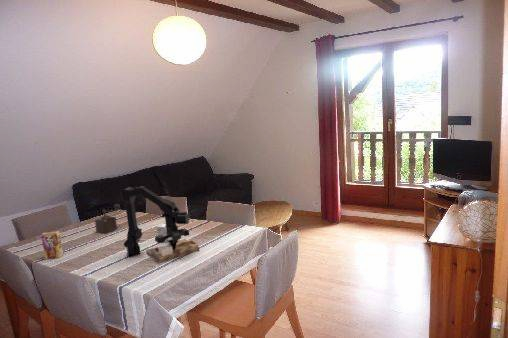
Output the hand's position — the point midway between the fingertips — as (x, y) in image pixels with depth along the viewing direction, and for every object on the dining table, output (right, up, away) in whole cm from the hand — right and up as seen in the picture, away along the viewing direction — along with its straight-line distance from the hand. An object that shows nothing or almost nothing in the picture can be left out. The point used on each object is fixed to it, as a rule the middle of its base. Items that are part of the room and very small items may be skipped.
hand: (173, 249), depth 206 cm
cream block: (-4, -1, -3) cm, 5 cm away
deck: (-2, -2, +4) cm, 5 cm away
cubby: (+6, 0, +4) cm, 7 cm away
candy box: (-74, -6, +8) cm, 74 cm away
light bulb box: (-9, 0, +23) cm, 24 cm away
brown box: (-58, +2, +54) cm, 80 cm away
